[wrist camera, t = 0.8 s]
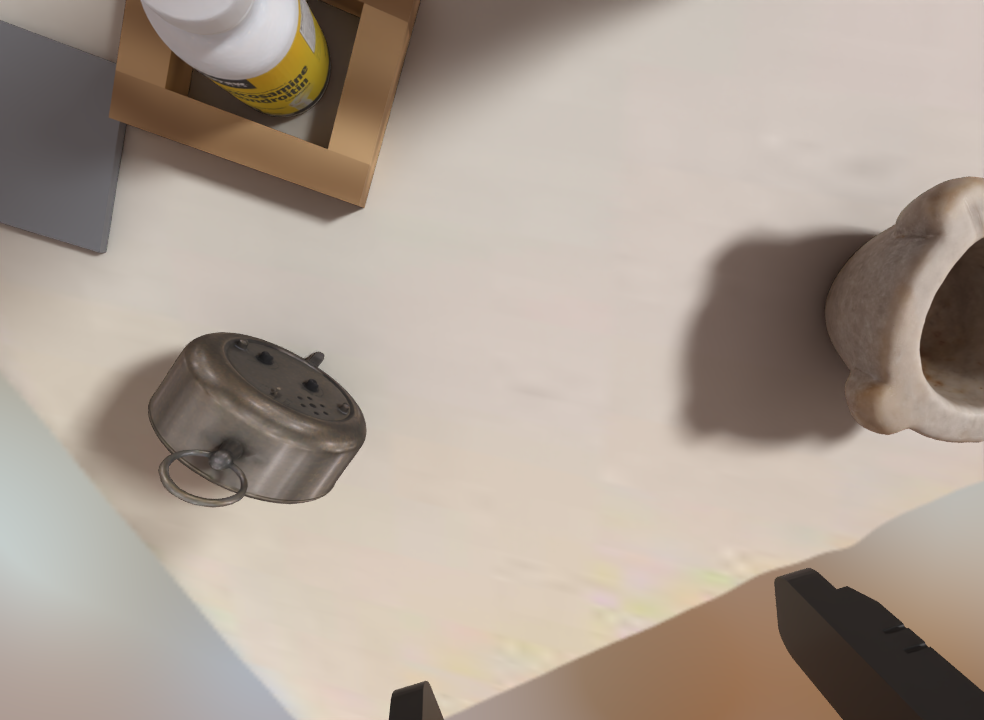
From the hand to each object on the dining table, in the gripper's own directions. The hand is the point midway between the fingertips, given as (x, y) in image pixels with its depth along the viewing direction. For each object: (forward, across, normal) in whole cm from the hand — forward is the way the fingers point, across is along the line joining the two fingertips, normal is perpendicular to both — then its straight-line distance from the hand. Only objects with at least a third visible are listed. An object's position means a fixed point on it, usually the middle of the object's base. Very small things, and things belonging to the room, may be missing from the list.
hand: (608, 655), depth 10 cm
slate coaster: (+25, +24, -21) cm, 41 cm away
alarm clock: (+25, +13, -2) cm, 29 cm away
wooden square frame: (+25, +8, -21) cm, 34 cm away
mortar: (+26, -31, +5) cm, 41 cm away
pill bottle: (+26, +8, -21) cm, 34 cm away
